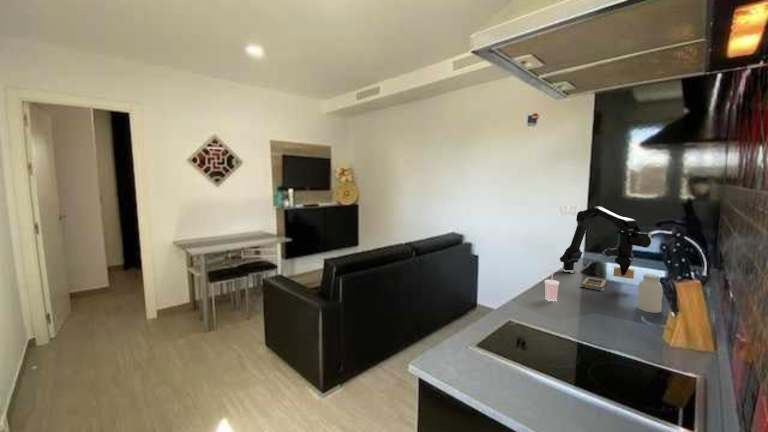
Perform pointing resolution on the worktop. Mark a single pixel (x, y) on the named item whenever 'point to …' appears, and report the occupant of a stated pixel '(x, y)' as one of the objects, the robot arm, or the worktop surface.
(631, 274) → the ochre bar
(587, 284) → the board
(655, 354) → the worktop surface
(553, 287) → the beverage cup
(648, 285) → the pill bottle
